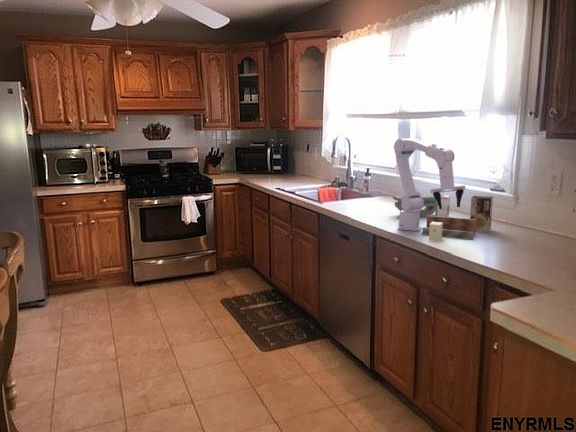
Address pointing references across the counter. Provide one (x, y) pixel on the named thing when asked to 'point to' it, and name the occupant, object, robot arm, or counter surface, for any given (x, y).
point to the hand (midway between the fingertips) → (449, 208)
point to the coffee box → (482, 212)
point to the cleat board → (453, 227)
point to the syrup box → (443, 206)
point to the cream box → (435, 230)
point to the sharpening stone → (428, 202)
